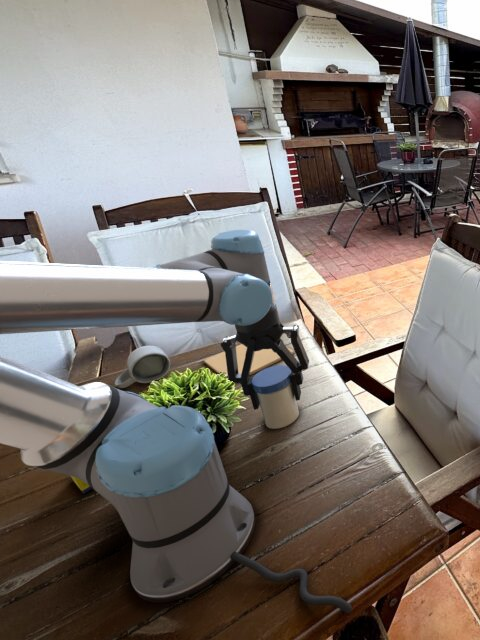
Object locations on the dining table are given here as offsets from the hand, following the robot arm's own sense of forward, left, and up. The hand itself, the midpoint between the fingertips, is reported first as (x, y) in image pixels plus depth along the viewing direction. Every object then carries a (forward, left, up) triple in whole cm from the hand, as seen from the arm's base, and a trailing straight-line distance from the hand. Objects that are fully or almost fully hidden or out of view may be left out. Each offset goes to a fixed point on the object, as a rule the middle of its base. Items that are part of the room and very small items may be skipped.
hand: (278, 400), depth 87 cm
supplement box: (+14, +27, -5) cm, 31 cm away
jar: (0, 0, -5) cm, 5 cm away
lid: (0, 0, +6) cm, 6 cm away
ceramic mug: (+43, +12, -5) cm, 45 cm away
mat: (+30, -7, -5) cm, 31 cm away
